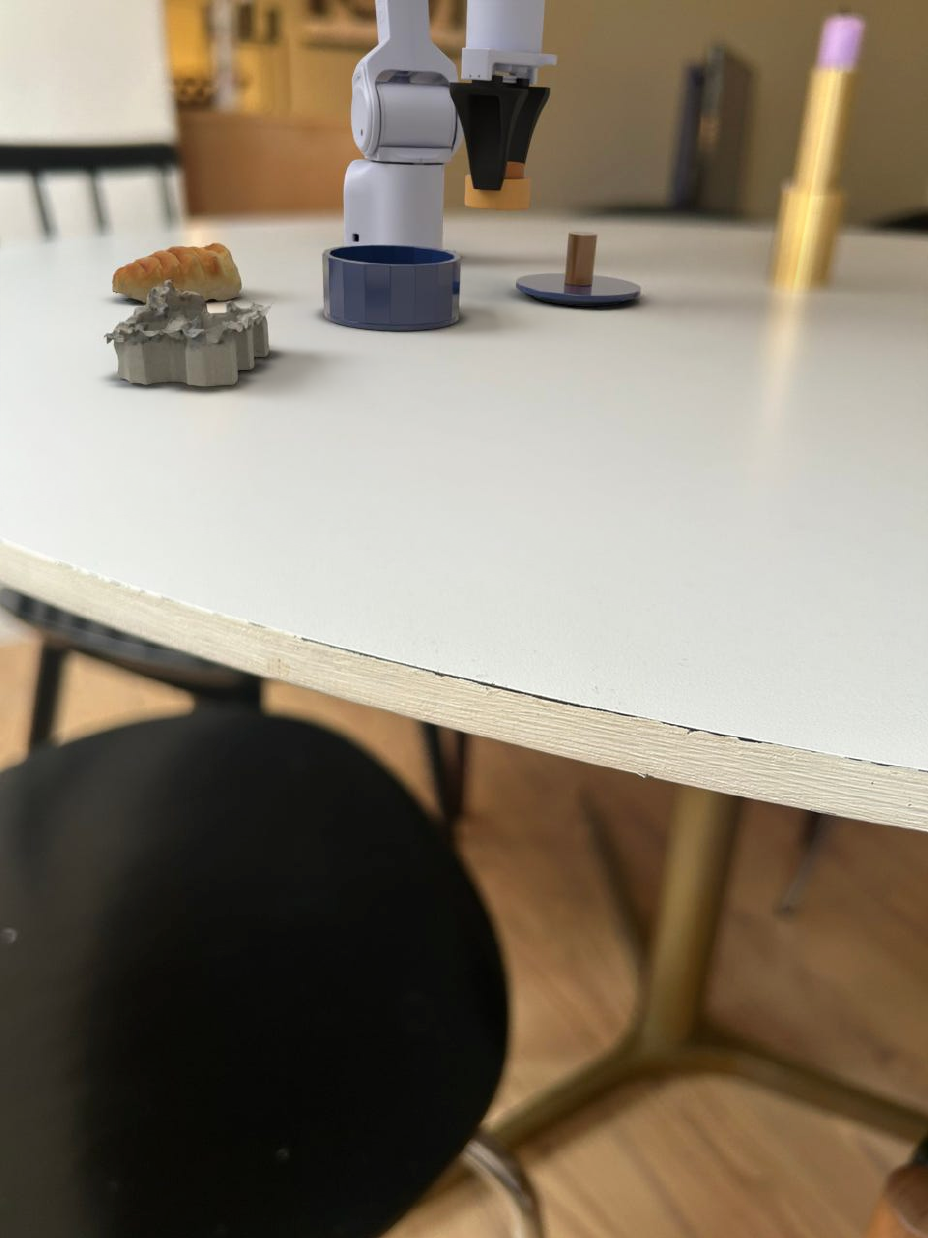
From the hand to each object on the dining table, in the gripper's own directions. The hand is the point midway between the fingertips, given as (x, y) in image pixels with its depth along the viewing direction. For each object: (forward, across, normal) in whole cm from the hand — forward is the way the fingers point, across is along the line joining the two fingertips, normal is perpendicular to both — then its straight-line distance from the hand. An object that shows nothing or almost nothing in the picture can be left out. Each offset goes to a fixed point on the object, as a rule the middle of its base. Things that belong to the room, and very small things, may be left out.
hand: (496, 187), depth 76 cm
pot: (+8, -11, +5) cm, 15 cm away
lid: (+8, +4, -7) cm, 11 cm away
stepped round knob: (+1, 0, 0) cm, 1 cm away
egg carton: (+9, -30, +10) cm, 33 cm away
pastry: (+9, -12, +22) cm, 26 cm away
